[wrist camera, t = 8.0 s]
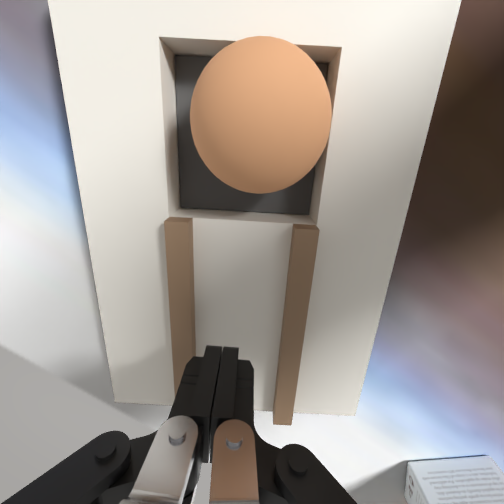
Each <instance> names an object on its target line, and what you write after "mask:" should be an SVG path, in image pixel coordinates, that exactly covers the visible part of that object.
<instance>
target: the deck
mask: <svg viewBox="0 0 504 504" xmlns="http://www.w3.org/2000/svg"><path fill="white" fill-rule="evenodd" d="M48 4H49V10H50V16H51V22H52V28H53V34H54V40H55V46H56V52H57V58H58V64H59V70H60V76H61V82H62V88H63V94H64V100H65V106H66V112H67V118H68V124H69V130H70V136H71V142H72V148H73V154H74V160H75V166H76V172H77V178H78V184H79V190H80V196H81V202H82V208H83V214H84V220H85V226H86V232H87V238H88V244H89V250H90V256H91V262H92V268H93V274H94V280H95V286H96V292H97V298H98V304H99V310H100V316H101V322H102V328H103V334H104V340H105V346H106V352H107V358H108V364H109V370H110V376H111V382H112V388H113V394H114V400H115V402H117V403H134V404H152V405H169V406H173V403H174V400H175V396H176V393H177V390H178V387H179V384H180V381H181V378H182V376H183V372H184V369H185V366H186V364H187V363H188V362H189V361H190V360H191V358H192V357H193V356H198V357H203V356H204V352H205V349H206V346H207V345H211V346H222V352H223V347H224V346H226V347H239V354H238V359H240V360H250V362H251V364H252V366H253V368H254V410H257V411H273V424H276V425H291V424H292V417H293V413H310V414H327V415H345V416H355V414H356V410H357V406H358V402H359V398H360V394H361V390H362V386H363V383H364V379H365V375H366V371H367V367H368V363H369V359H370V355H371V351H372V347H373V343H374V340H375V336H376V332H377V328H378V324H379V320H380V316H381V312H382V308H383V304H384V301H385V297H386V293H387V289H388V285H389V281H390V277H391V273H392V269H393V265H394V261H395V258H396V254H397V250H398V246H399V242H400V238H401V234H402V230H403V226H404V222H405V219H406V215H407V211H408V207H409V203H410V199H411V195H412V191H413V187H414V183H415V179H416V176H417V172H418V168H419V164H420V160H421V156H422V152H423V148H424V144H425V140H426V136H427V133H428V129H429V125H430V121H431V117H432V113H433V109H434V105H435V101H436V97H437V94H438V90H439V86H440V82H441V78H442V74H443V70H444V66H445V62H446V58H447V54H448V51H449V47H450V43H451V39H452V35H453V31H454V27H455V23H456V19H457V15H458V12H459V8H460V4H461V0H48ZM254 36H271V37H275V38H280V39H283V40H286V41H288V42H290V43H292V44H294V45H296V46H297V47H299V48H300V49H301V50H303V51H304V52H305V53H306V54H307V55H308V56H309V57H310V58H311V59H312V60H313V61H314V62H315V64H316V65H317V67H318V68H319V70H320V71H321V73H322V75H323V77H324V79H325V81H326V84H327V87H328V90H329V94H330V100H331V109H332V118H331V128H330V133H329V137H328V140H327V143H326V146H325V148H324V150H323V152H322V155H321V156H320V158H319V159H318V161H317V162H316V164H315V165H314V167H313V168H312V169H311V170H310V171H309V172H308V173H307V174H306V175H305V176H304V177H303V178H302V179H300V180H299V181H298V182H296V183H295V184H293V185H291V186H289V187H287V188H285V189H282V190H279V191H276V192H271V193H263V194H257V193H249V192H244V191H240V190H237V189H235V188H233V187H231V186H229V185H227V184H225V183H224V182H222V181H221V180H220V179H218V178H217V177H216V176H215V175H214V174H213V173H212V172H211V171H210V170H209V169H208V167H207V166H206V165H205V163H204V162H203V160H202V159H201V157H200V155H199V153H198V151H197V149H196V146H195V144H194V140H193V137H192V132H191V125H190V107H191V99H192V95H193V91H194V88H195V85H196V83H197V80H198V78H199V76H200V75H201V73H202V71H203V69H204V68H205V66H206V65H207V64H208V63H209V61H210V60H211V59H212V58H213V57H214V56H215V55H216V54H217V53H218V52H219V51H221V50H222V49H223V48H225V47H226V46H228V45H230V44H232V43H234V42H236V41H238V40H241V39H244V38H247V37H254ZM327 69H328V71H327ZM326 77H327V78H326ZM314 170H315V172H314ZM313 178H314V180H313ZM312 186H313V187H312ZM311 194H312V195H311ZM310 201H311V203H310ZM181 207H182V208H181ZM197 208H199V209H197ZM215 209H217V210H215ZM309 209H310V211H309ZM232 210H235V211H232ZM250 211H252V212H250ZM267 212H270V213H267ZM285 213H287V214H285ZM303 214H305V215H303Z"/></svg>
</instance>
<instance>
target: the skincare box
mask: <svg viewBox="0 0 504 504" xmlns="http://www.w3.org/2000/svg"><path fill="white" fill-rule="evenodd" d="M405 499H406V501H407V503H408V504H504V473H503V472H502V470H501V469H500V468H499V467H498V465H497V464H496V463H495V461H494V460H493V459H492V458H491V457H490V456H487V455H486V456H476V457H463V458H452V459H439V460H426V461H413V462H408V465H407V475H406V485H405Z"/></svg>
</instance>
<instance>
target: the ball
mask: <svg viewBox="0 0 504 504" xmlns="http://www.w3.org/2000/svg"><path fill="white" fill-rule="evenodd" d="M331 118H332V109H331V100H330V94H329V90H328V87H327V84H326V81H325V79H324V77H323V75H322V73H321V71H320V70H319V68H318V67H317V65H316V64H315V62H314V61H313V60H312V59H311V58H310V57H309V56H308V55H307V54H306V53H305V52H304V51H303V50H301V49H300V48H299V47H297V46H296V45H294V44H292V43H290V42H288V41H286V40H283V39H280V38H275V37H271V36H254V37H247V38H244V39H241V40H238V41H236V42H234V43H232V44H230V45H228V46H226V47H225V48H223V49H222V50H221V51H219V52H218V53H217V54H216V55H215V56H214V57H213V58H212V59H211V60H210V61H209V63H208V64H207V65H206V66H205V68H204V69H203V71H202V73H201V75H200V76H199V78H198V80H197V83H196V85H195V88H194V91H193V95H192V99H191V107H190V125H191V132H192V137H193V140H194V144H195V146H196V149H197V151H198V153H199V155H200V157H201V159H202V160H203V162H204V163H205V165H206V166H207V167H208V169H209V170H210V171H211V172H212V173H213V174H214V175H215V176H216V177H217V178H218V179H220V180H221V181H222V182H224V183H225V184H227V185H229V186H231V187H233V188H235V189H237V190H240V191H244V192H249V193H257V194H263V193H271V192H276V191H279V190H282V189H285V188H287V187H289V186H291V185H293V184H295V183H296V182H298V181H299V180H300V179H302V178H303V177H304V176H305V175H306V174H307V173H308V172H309V171H310V170H311V169H312V168H313V167H314V165H315V164H316V162H317V161H318V159H319V158H320V156H321V155H322V152H323V150H324V148H325V146H326V143H327V140H328V137H329V133H330V128H331Z"/></svg>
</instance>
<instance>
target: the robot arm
mask: <svg viewBox="0 0 504 504" xmlns="http://www.w3.org/2000/svg"><path fill="white" fill-rule="evenodd" d="M238 354H239V347H226V346H224V347H223V352H222V346H211V345H207V346H206V349H205V352H204V356H203V357H198V356H193V357H192V358H191V360H190V361H189V362H188V363H187V364H186V366H185V369H184V372H183V376H182V378H181V381H180V384H179V387H178V390H177V393H176V396H175V400H174V403H173V406H172V409H171V412H170V415H169V417H168V419H167V420H166V421H165V422H164V423H163V424H162V425H161V426H160V428H159V429H158V430H157V431H156V432H154V433H152V434H150V435H147V436H144V437H140V438H136V439H132V440H129V438H128V436H127V435H126V434H125V433H123V432H120V431H110V432H106V433H103V434H101V435H99V436H98V437H96V438H95V439H93V440H92V441H90V442H89V443H88V444H86V445H85V446H83V447H82V448H80V449H79V450H77V451H76V452H75V453H73V454H72V455H70V456H69V457H67V458H66V459H64V460H63V461H62V462H60V463H59V464H57V465H56V466H55V467H53V468H52V469H50V470H49V471H47V472H46V473H44V474H43V475H42V476H40V477H39V478H37V479H36V480H34V481H33V482H32V483H30V484H29V485H27V486H26V487H24V488H23V489H21V490H20V491H19V492H17V493H16V494H14V495H13V496H11V497H10V498H9V499H7V500H6V501H4V502H3V503H1V504H193V502H194V498H195V494H196V490H197V483H198V480H199V475H200V469H201V464H202V463H208V460H209V453H210V463H212V472H211V486H210V500H209V504H357V503H356V502H355V501H354V499H353V498H352V497H351V496H350V495H349V494H348V493H347V492H346V490H345V489H344V488H343V487H342V486H341V485H340V484H339V483H338V481H337V480H336V479H335V478H334V477H333V476H332V475H331V474H330V472H329V471H328V470H327V469H326V468H325V467H324V466H323V465H322V463H321V462H320V461H319V460H318V459H317V458H316V457H315V456H314V454H313V453H312V452H311V451H310V450H308V449H307V448H305V447H304V446H301V445H298V444H289V445H286V446H284V447H283V448H282V449H279V448H277V447H275V446H272V445H270V444H268V443H266V442H265V441H264V440H262V439H261V438H260V436H259V435H258V434H257V432H256V430H255V427H254V368H253V366H252V364H251V362H250V360H240V359H238Z"/></svg>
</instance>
